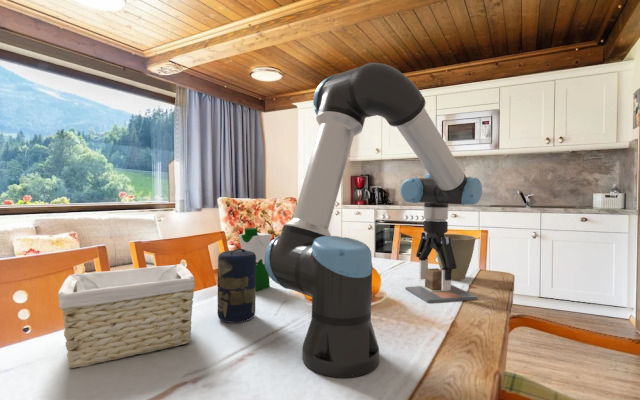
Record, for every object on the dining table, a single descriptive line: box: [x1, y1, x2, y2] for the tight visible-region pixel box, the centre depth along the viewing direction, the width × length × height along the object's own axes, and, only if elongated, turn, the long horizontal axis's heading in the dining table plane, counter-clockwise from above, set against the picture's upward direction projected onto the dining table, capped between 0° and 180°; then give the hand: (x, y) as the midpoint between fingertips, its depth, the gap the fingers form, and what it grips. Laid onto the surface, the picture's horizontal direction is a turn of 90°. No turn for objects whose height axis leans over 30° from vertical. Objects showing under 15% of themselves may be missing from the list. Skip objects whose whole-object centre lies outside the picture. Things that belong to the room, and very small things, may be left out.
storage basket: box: [57, 263, 196, 369], centre depth 75 cm, size 24×16×15 cm
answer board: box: [405, 284, 478, 304], centre depth 113 cm, size 17×14×1 cm
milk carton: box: [238, 227, 272, 292], centre depth 118 cm, size 9×9×20 cm
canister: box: [217, 247, 257, 323], centre depth 90 cm, size 10×10×18 cm
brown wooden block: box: [424, 267, 442, 290], centre depth 117 cm, size 4×4×6 cm
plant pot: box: [435, 233, 476, 281], centre depth 134 cm, size 15×15×16 cm
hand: (434, 284), depth 117 cm, fingers open, 13 cm apart
